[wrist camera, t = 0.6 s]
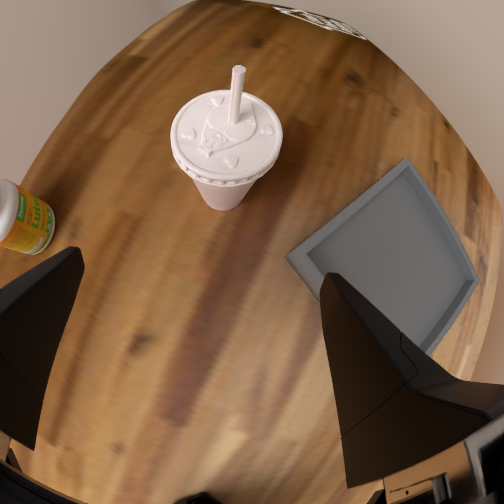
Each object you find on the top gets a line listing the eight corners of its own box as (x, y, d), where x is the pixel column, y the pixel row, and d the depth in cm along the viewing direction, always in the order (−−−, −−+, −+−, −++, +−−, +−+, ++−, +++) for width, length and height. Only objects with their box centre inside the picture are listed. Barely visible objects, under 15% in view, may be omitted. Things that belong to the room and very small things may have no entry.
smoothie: (273, 184, 24) (329, 76, 10) (231, 241, 23) (249, 165, 9) (216, 146, 24) (220, 23, 10) (171, 198, 23) (125, 92, 9)
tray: (465, 281, 26) (479, 280, 23) (381, 388, 22) (395, 395, 20) (394, 165, 26) (406, 156, 24) (284, 256, 23) (292, 251, 21)
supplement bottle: (62, 237, 21) (-2, 208, 12) (27, 265, 20) (-40, 250, 11) (49, 192, 22) (-8, 152, 12) (15, 220, 21) (-44, 193, 11)
